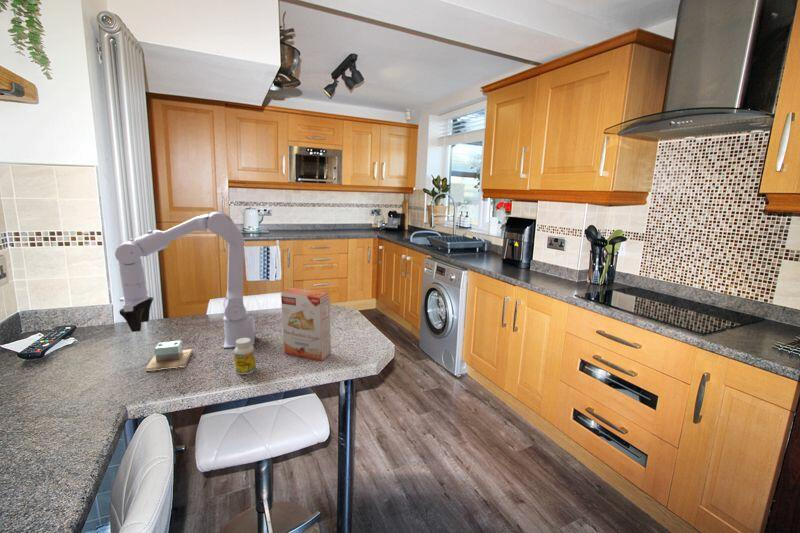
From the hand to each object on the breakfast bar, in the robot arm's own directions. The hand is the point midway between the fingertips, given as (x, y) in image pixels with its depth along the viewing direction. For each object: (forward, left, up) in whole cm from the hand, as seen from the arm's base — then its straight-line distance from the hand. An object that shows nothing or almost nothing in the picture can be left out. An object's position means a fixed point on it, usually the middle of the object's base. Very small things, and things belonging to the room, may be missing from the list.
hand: (140, 326), depth 114 cm
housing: (-8, +5, -9) cm, 13 cm away
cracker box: (-48, +11, -11) cm, 50 cm away
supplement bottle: (-30, +17, -11) cm, 36 cm away
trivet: (-8, +5, -10) cm, 14 cm away
